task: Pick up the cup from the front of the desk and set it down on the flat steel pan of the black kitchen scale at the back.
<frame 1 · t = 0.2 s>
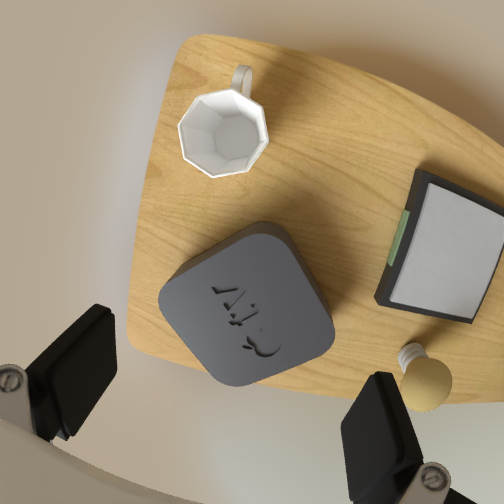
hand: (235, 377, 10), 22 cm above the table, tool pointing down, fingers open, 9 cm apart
scale: (447, 251, 29), on the table
streaming box: (251, 297, 34), on the table
cup: (241, 124, 28), on the table
light bulb: (408, 350, 34), on the table
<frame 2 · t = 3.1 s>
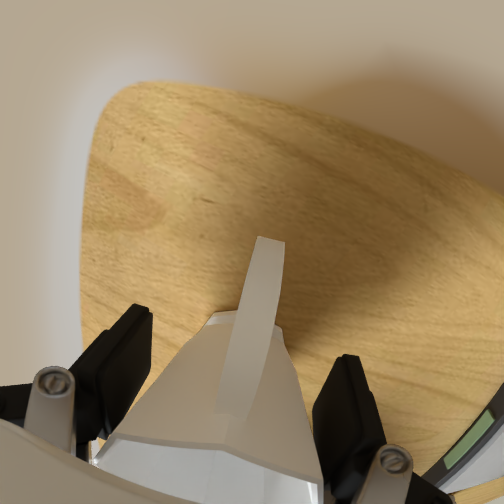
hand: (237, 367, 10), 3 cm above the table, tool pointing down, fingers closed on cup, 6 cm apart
cup: (248, 319, 13), on the table, touching gripper
light bulb: (438, 498, 20), on the table
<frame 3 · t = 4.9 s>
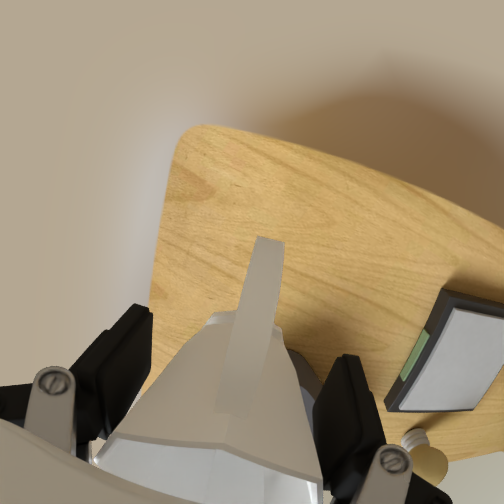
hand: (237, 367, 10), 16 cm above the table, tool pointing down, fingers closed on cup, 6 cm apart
scale: (459, 356, 27), on the table
streaming box: (265, 406, 31), on the table
cup: (247, 319, 13), point 13 cm above the table, touching gripper
light bulb: (411, 433, 31), on the table
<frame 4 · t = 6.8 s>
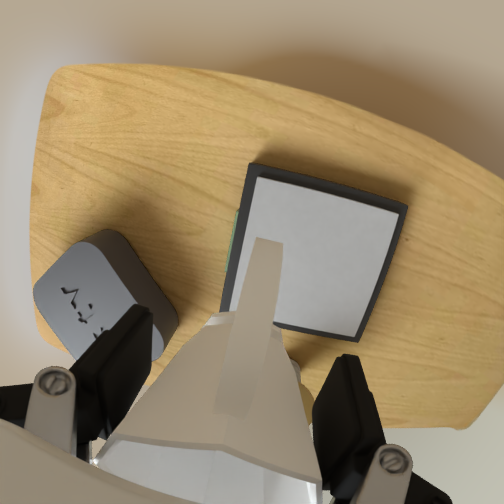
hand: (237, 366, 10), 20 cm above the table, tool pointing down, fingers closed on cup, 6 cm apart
scale: (310, 256, 29), on the table
streaming box: (111, 299, 33), on the table
cup: (247, 320, 13), point 16 cm above the table, touching gripper
light bulb: (284, 366, 34), on the table
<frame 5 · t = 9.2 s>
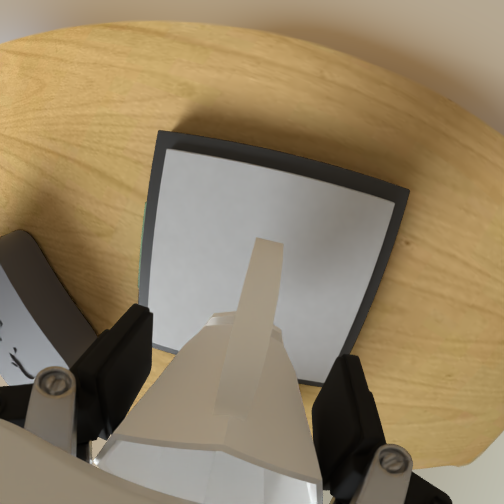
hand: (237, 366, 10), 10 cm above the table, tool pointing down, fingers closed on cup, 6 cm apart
scale: (259, 266, 20), on the table
streaming box: (34, 312, 24), on the table
cup: (247, 320, 13), point 7 cm above the table, touching gripper
when the fingers open (6 cm above the table, at t = 10.8 s): cup stays where it is, resting on scale.
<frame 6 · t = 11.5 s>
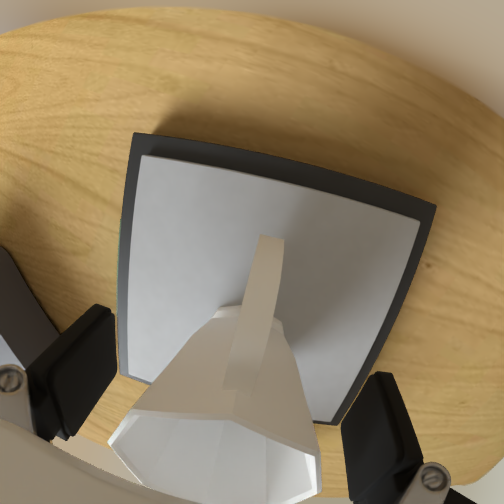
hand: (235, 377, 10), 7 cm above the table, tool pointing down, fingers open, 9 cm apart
scale: (256, 294, 17), on the table
streaming box: (16, 331, 21), on the table
cup: (250, 314, 14), point 2 cm above the table, touching scale
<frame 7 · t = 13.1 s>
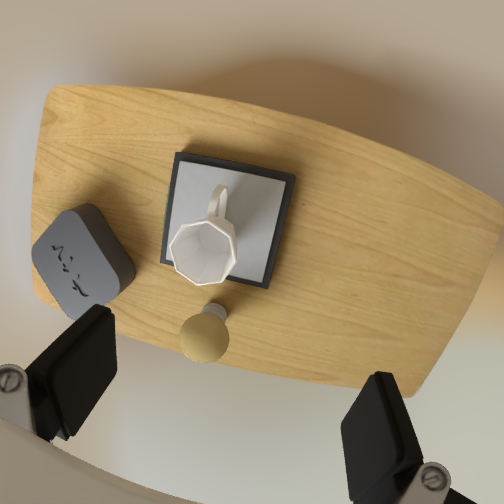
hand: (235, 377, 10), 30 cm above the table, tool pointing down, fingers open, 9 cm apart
scale: (225, 218, 39), on the table
streaming box: (89, 258, 43), on the table
cup: (221, 221, 37), point 2 cm above the table, touching scale
light bulb: (215, 311, 44), on the table
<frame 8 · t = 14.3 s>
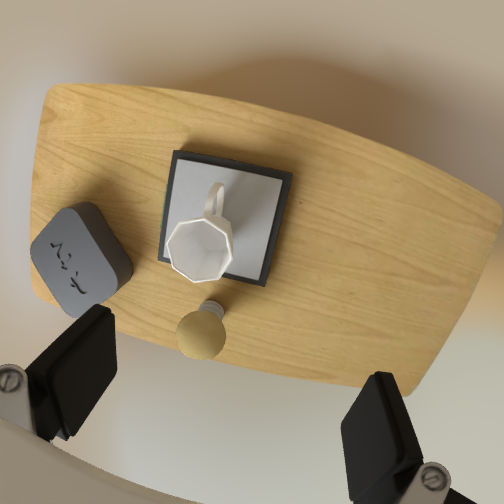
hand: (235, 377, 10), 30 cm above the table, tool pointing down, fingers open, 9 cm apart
scale: (222, 216, 39), on the table
streaming box: (87, 255, 43), on the table
cup: (218, 219, 37), point 2 cm above the table, touching scale
light bulb: (212, 309, 44), on the table
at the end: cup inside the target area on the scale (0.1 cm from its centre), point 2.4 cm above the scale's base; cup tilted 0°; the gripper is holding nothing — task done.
